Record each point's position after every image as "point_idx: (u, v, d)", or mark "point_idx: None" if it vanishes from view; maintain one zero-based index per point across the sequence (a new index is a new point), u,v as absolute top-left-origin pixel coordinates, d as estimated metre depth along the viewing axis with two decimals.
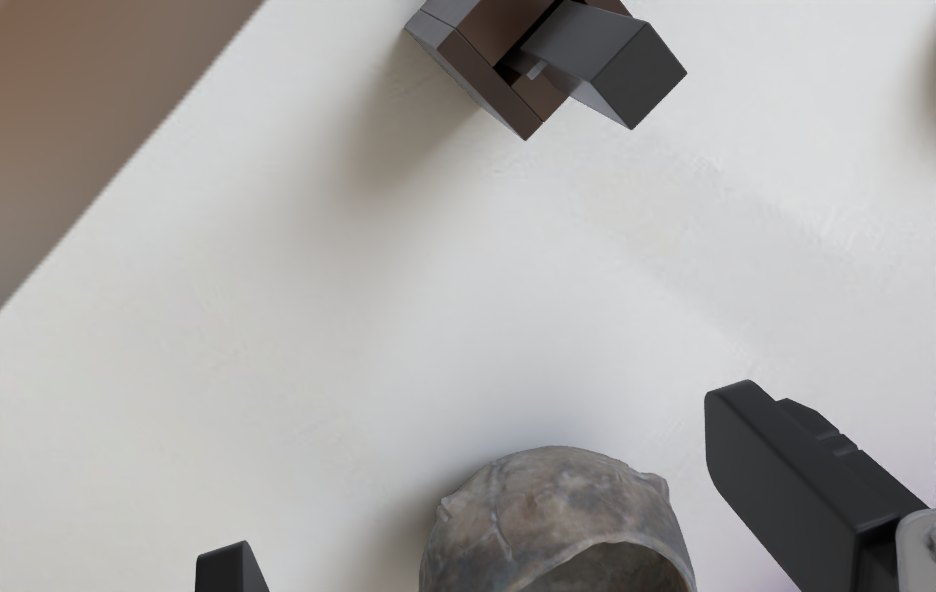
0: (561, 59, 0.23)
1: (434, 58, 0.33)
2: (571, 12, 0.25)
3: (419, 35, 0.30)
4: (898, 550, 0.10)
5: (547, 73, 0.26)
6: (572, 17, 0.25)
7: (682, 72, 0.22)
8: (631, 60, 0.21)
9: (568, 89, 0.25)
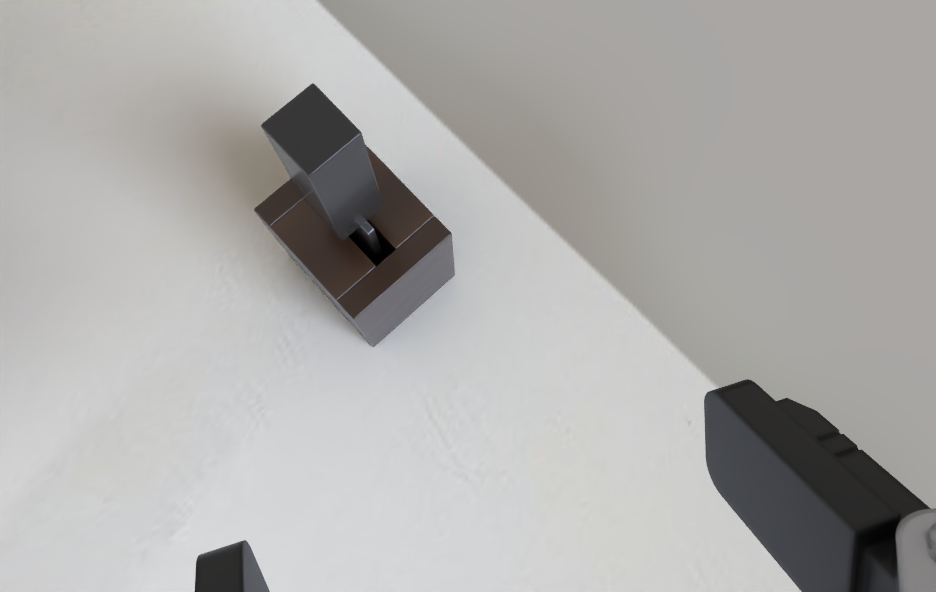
0: None
1: None
2: None
3: None
4: (898, 550, 0.10)
5: None
6: None
7: (311, 169, 0.22)
8: (328, 118, 0.23)
9: None
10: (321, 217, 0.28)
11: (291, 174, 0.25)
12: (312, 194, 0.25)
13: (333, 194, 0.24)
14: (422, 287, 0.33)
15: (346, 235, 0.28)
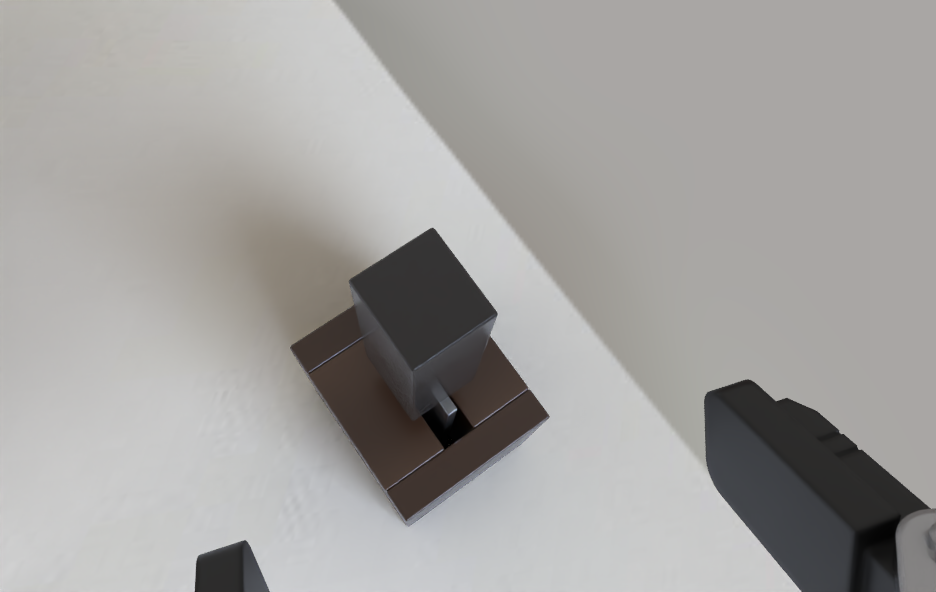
0: None
1: None
2: None
3: None
4: (898, 550, 0.10)
5: None
6: None
7: (417, 361, 0.14)
8: (451, 284, 0.15)
9: None
10: (388, 385, 0.20)
11: (366, 336, 0.18)
12: (396, 374, 0.17)
13: (429, 382, 0.17)
14: (488, 466, 0.25)
15: (419, 415, 0.20)
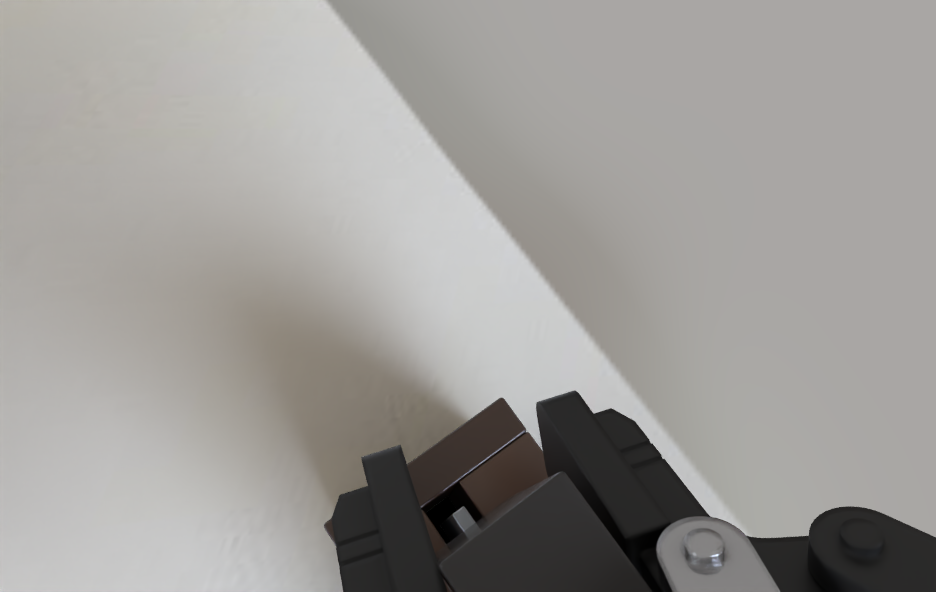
0: None
1: None
2: None
3: None
4: (666, 574, 0.10)
5: (476, 523, 0.15)
6: None
7: None
8: (596, 569, 0.10)
9: (459, 538, 0.13)
10: None
11: (445, 581, 0.12)
12: None
13: None
14: None
15: None
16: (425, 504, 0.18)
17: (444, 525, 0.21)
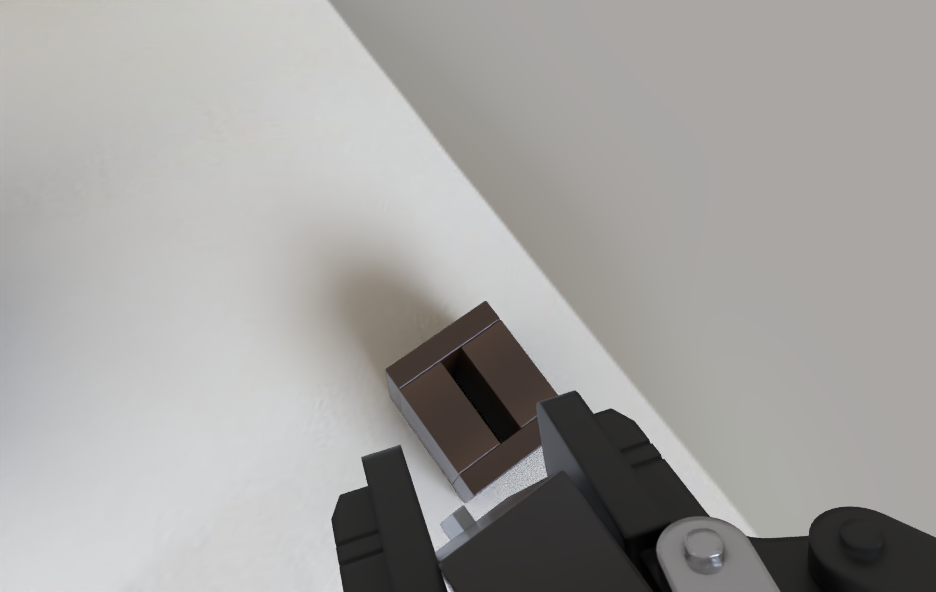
0: None
1: None
2: None
3: None
4: (666, 574, 0.10)
5: (476, 522, 0.15)
6: None
7: None
8: (596, 567, 0.10)
9: (459, 537, 0.13)
10: None
11: (445, 580, 0.12)
12: None
13: None
14: None
15: None
16: (442, 359, 0.31)
17: (444, 524, 0.21)
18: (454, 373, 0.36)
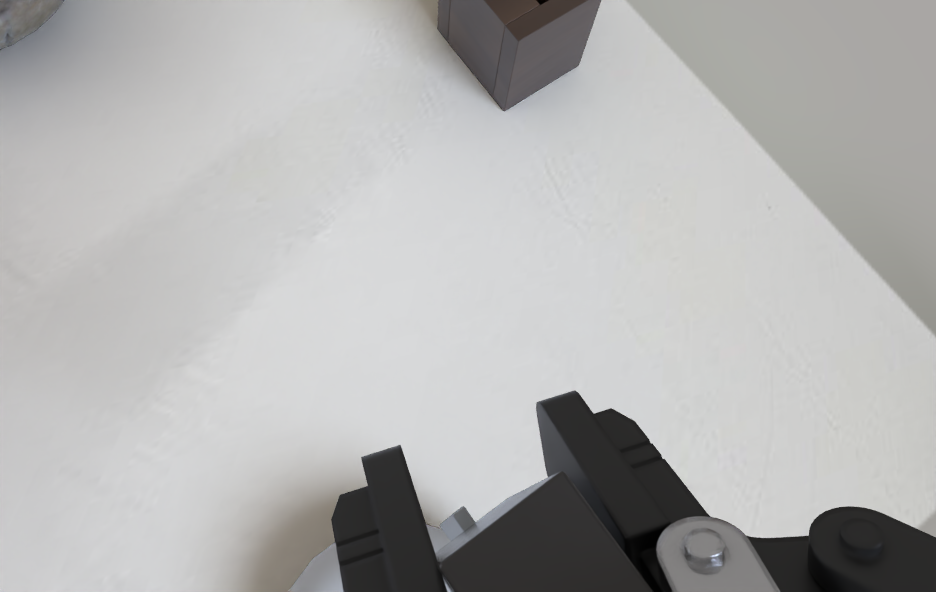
0: None
1: None
2: None
3: None
4: (666, 574, 0.10)
5: (476, 523, 0.14)
6: None
7: None
8: (596, 569, 0.10)
9: (459, 538, 0.13)
10: None
11: (445, 581, 0.12)
12: None
13: None
14: (560, 54, 0.39)
15: None
16: None
17: (444, 525, 0.21)
18: None
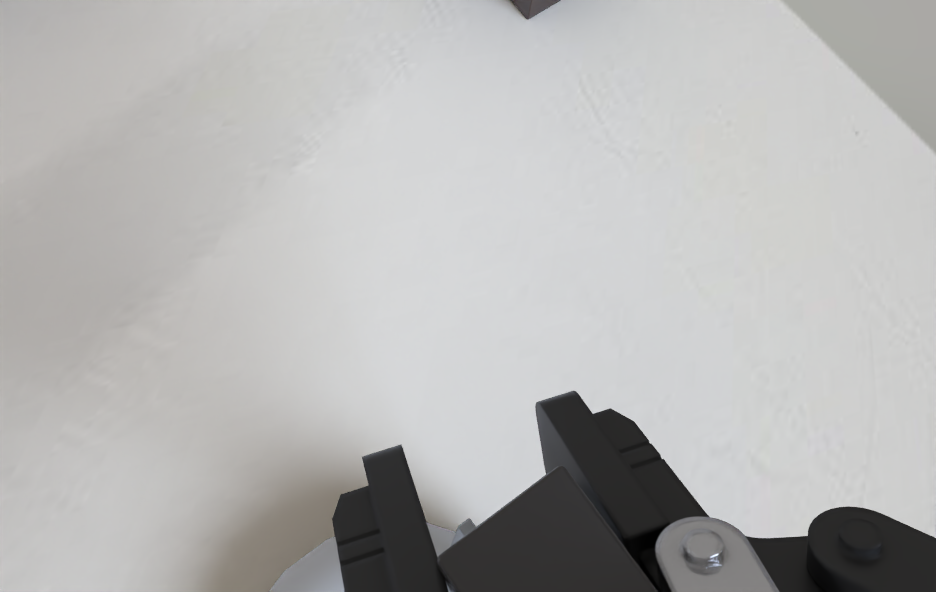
0: None
1: None
2: None
3: None
4: (665, 574, 0.10)
5: None
6: None
7: None
8: (597, 562, 0.10)
9: None
10: None
11: (448, 587, 0.12)
12: None
13: None
14: None
15: None
16: None
17: None
18: None
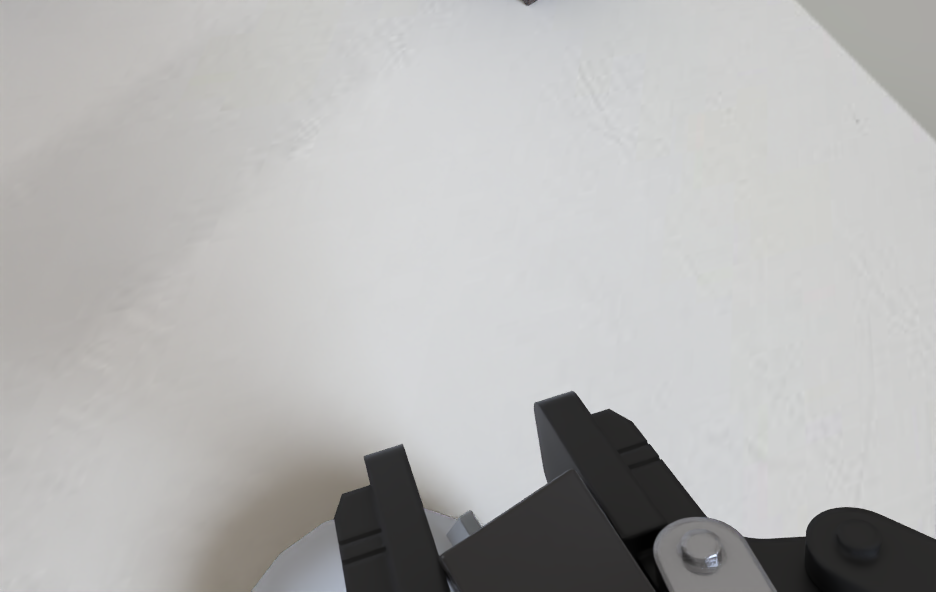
0: None
1: None
2: None
3: None
4: (663, 575, 0.10)
5: None
6: None
7: None
8: (603, 570, 0.09)
9: None
10: None
11: (447, 581, 0.12)
12: None
13: None
14: None
15: None
16: None
17: (450, 533, 0.20)
18: None
